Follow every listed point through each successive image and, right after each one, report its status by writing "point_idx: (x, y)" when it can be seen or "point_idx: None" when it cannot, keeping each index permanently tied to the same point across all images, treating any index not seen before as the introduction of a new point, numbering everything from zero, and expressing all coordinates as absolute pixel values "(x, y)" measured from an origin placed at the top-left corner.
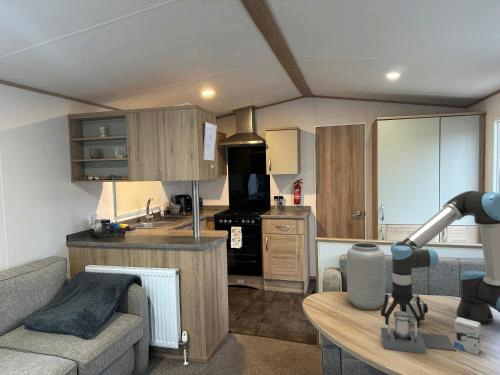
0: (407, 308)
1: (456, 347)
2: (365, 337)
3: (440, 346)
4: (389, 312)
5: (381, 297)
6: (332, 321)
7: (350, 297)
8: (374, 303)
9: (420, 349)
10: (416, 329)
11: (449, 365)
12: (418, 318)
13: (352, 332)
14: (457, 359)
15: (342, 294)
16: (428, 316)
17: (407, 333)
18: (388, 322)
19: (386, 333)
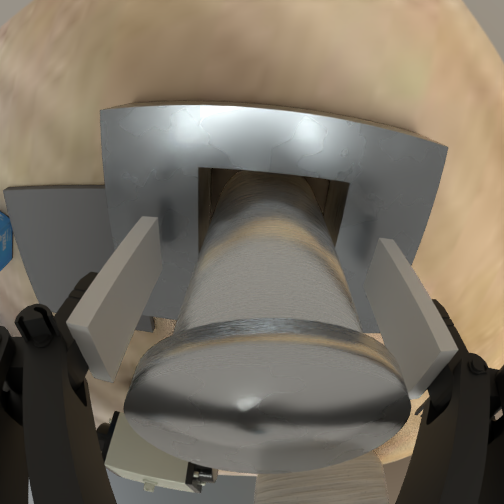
0: None
1: (4, 217)
2: (458, 260)
3: (49, 207)
4: (475, 430)
5: (278, 484)
6: (492, 353)
7: (381, 465)
8: None
9: (153, 103)
10: (118, 253)
11: (45, 27)
12: (33, 354)
13: (483, 295)
14: (5, 108)
15: None
16: (122, 412)
17: (225, 218)
18: (438, 312)
19: None
